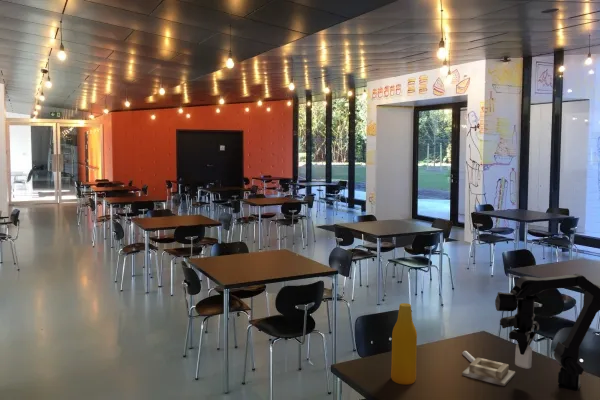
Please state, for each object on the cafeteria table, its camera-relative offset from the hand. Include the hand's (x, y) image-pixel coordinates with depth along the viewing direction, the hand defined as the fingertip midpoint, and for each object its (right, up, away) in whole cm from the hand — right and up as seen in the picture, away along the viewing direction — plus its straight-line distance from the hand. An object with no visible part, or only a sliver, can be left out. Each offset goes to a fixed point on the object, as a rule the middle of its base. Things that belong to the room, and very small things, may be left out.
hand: (523, 352), depth 197 cm
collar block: (-10, -11, +9) cm, 17 cm away
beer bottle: (-44, -12, +4) cm, 45 cm away
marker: (-12, -10, +25) cm, 29 cm away
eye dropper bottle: (0, -5, 0) cm, 5 cm away
